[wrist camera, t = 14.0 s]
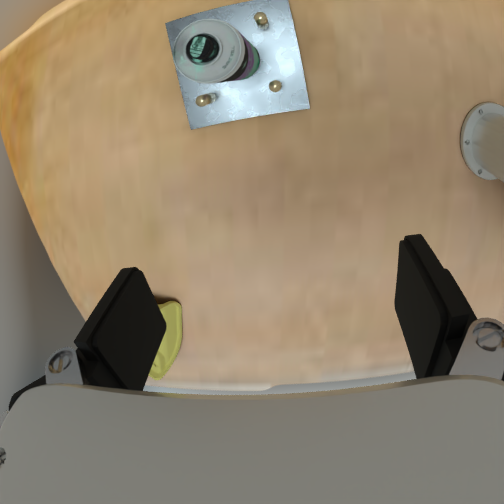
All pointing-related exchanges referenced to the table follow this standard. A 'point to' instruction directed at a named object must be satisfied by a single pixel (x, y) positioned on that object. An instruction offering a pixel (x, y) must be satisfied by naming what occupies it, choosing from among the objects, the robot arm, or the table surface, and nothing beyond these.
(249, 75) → the spray can
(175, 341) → the plastic component
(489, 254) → the table surface
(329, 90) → the table surface
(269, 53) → the post plate
